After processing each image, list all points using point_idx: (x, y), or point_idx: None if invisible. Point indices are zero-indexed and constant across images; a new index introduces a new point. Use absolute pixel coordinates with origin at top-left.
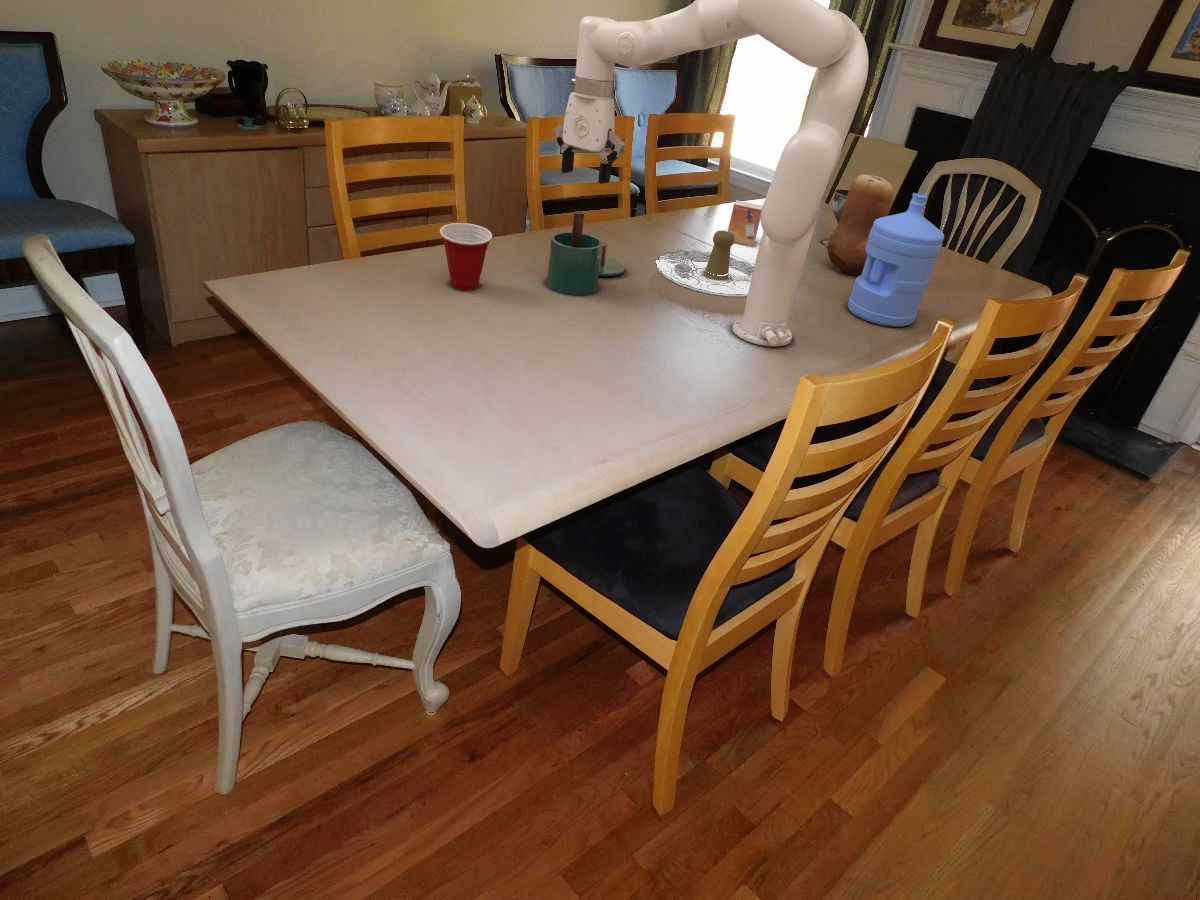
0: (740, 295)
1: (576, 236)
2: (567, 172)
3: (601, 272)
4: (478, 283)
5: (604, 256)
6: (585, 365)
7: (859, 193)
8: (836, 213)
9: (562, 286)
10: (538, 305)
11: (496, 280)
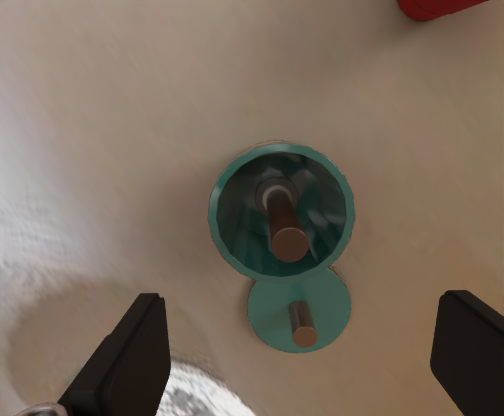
0: None
1: (276, 209)
2: (439, 325)
3: None
4: (400, 2)
5: (290, 321)
6: None
7: None
8: None
9: (261, 142)
10: (247, 45)
11: (396, 78)
